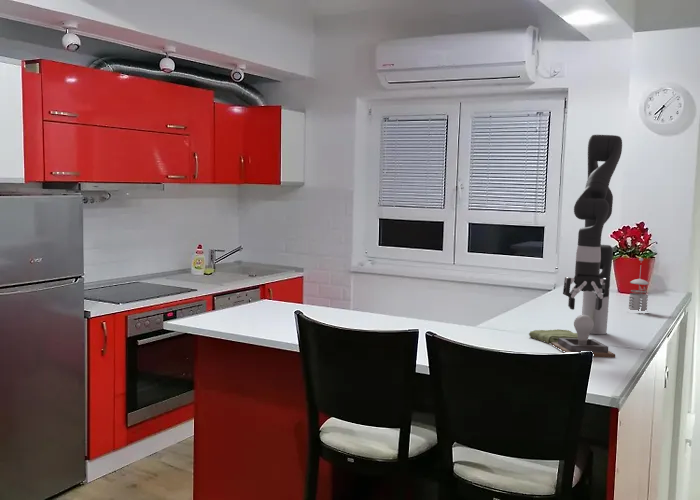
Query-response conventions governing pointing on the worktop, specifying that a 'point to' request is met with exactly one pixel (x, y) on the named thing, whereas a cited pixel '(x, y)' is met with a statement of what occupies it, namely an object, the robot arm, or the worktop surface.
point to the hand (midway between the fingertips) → (584, 309)
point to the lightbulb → (583, 328)
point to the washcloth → (552, 335)
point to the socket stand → (583, 347)
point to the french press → (638, 295)
